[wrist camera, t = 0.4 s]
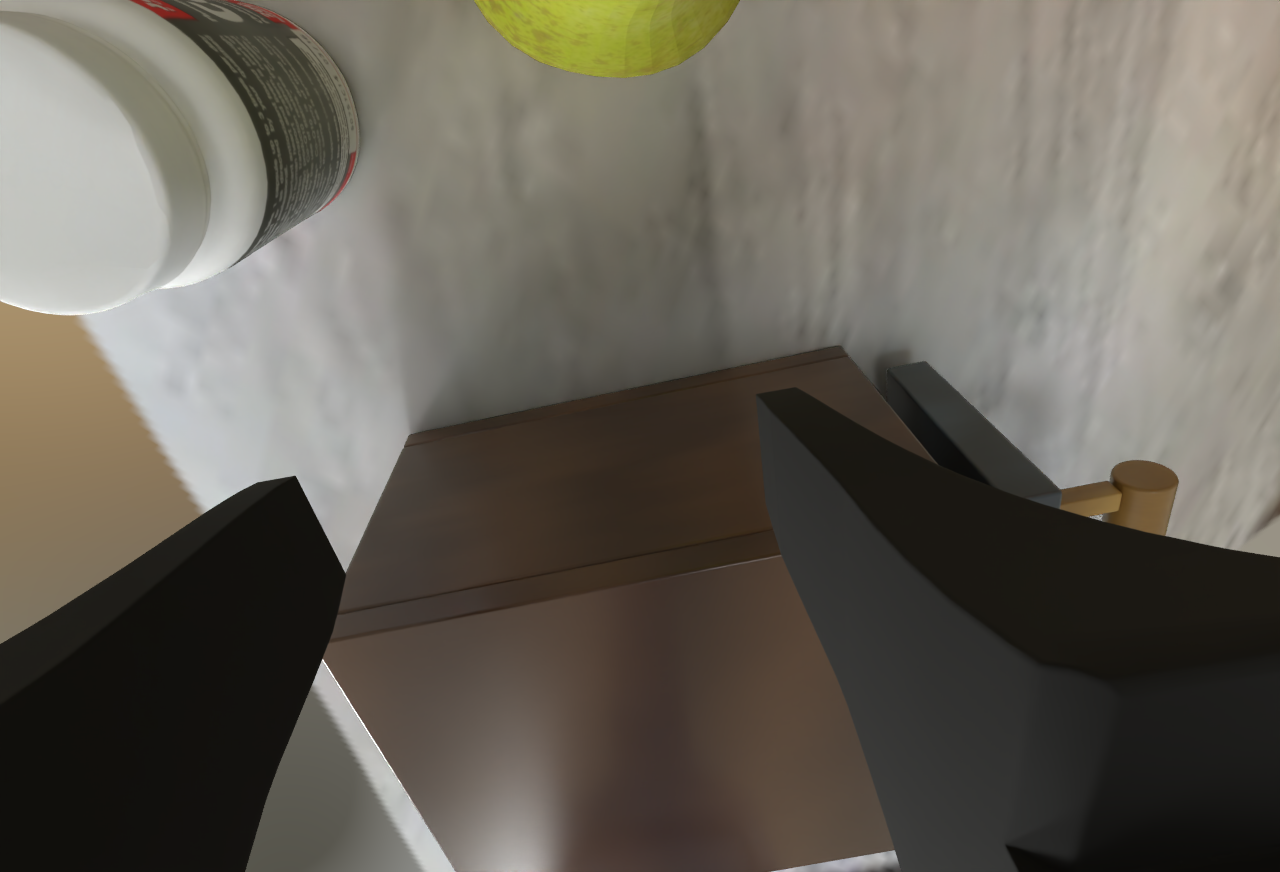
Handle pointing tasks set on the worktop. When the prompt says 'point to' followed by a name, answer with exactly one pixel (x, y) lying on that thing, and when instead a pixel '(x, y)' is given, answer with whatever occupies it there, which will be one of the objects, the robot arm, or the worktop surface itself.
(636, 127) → the worktop surface
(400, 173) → the worktop surface
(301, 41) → the pill bottle
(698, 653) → the cabinet
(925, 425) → the drawer
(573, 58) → the fruit
